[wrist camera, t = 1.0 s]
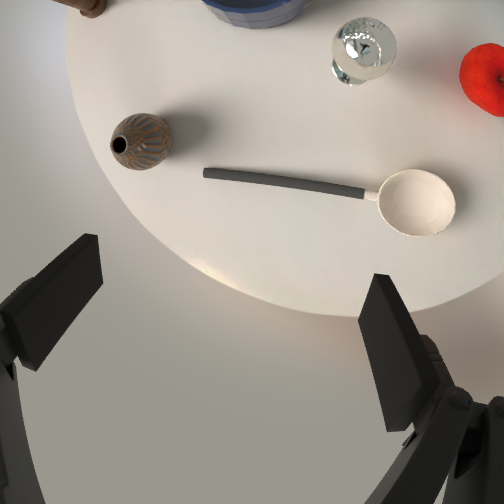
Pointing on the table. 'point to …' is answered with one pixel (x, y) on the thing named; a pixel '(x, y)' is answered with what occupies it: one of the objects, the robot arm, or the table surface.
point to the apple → (484, 77)
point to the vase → (141, 141)
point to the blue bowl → (255, 11)
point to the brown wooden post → (86, 6)
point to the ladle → (378, 197)
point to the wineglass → (363, 50)
